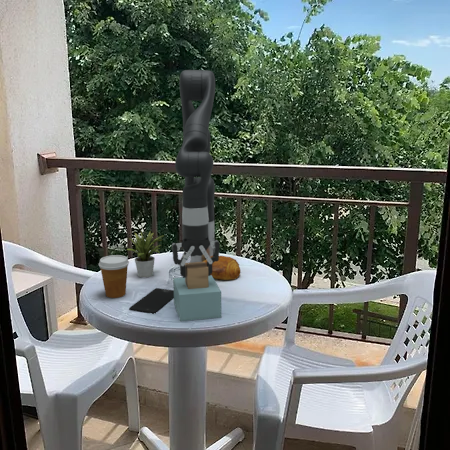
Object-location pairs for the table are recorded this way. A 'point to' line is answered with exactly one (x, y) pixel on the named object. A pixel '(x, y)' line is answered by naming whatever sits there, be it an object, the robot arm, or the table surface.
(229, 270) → the croissant
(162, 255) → the table surface
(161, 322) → the table surface
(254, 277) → the table surface
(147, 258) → the house plant
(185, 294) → the stand
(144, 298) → the cell phone
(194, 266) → the walnut cube
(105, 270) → the disposable coffee cup
